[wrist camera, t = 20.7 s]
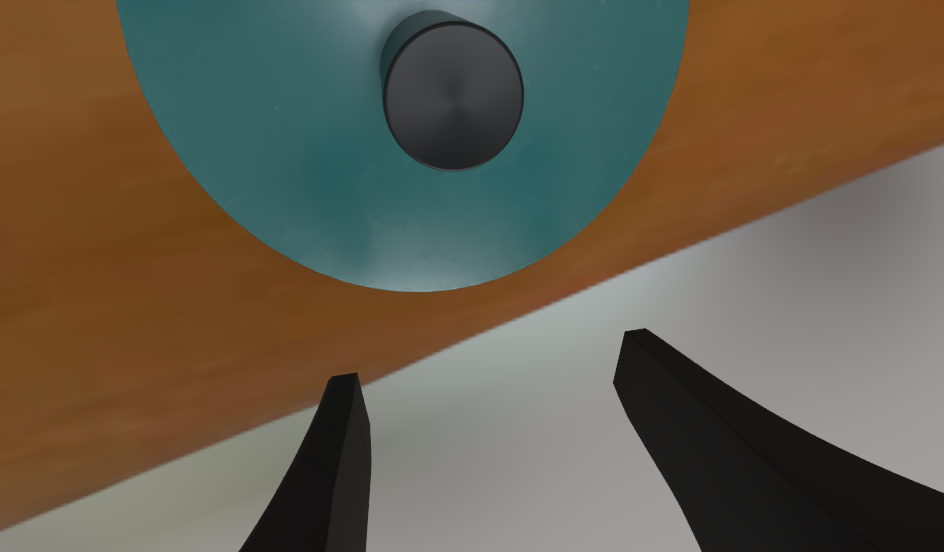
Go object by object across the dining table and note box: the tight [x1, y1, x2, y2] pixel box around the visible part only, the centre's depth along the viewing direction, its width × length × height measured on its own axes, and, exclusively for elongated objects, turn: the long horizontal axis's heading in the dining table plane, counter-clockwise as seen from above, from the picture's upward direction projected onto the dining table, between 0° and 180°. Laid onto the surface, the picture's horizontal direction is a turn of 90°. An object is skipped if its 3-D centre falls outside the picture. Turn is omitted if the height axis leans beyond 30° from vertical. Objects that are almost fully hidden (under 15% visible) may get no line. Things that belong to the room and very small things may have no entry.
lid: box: [116, 0, 689, 292], centre depth 10 cm, size 13×13×4 cm
